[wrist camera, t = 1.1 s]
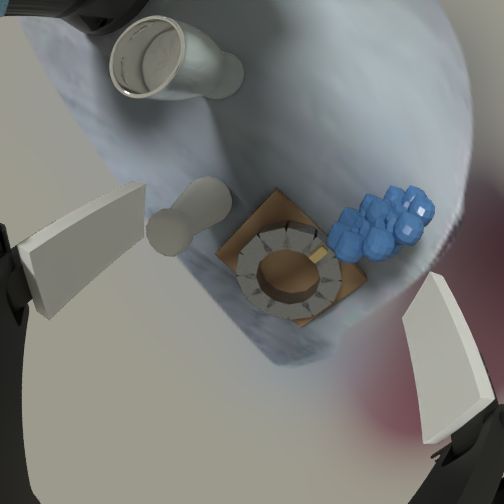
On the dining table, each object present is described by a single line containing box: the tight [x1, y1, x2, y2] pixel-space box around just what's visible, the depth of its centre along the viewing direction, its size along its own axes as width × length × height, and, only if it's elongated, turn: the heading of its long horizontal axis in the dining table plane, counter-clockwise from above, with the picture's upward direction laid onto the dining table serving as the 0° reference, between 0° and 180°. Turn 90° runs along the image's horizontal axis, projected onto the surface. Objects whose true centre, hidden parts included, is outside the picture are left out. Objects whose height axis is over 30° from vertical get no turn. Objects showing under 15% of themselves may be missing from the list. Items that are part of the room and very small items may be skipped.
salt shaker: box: [146, 177, 232, 256], centre depth 29 cm, size 6×6×13 cm
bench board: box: [215, 188, 367, 327], centre depth 36 cm, size 16×12×1 cm
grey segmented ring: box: [236, 220, 342, 320], centre depth 34 cm, size 12×12×3 cm
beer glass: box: [109, 15, 244, 101], centre depth 21 cm, size 7×7×15 cm
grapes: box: [327, 185, 435, 263], centre depth 25 cm, size 12×7×12 cm, turn 118°
